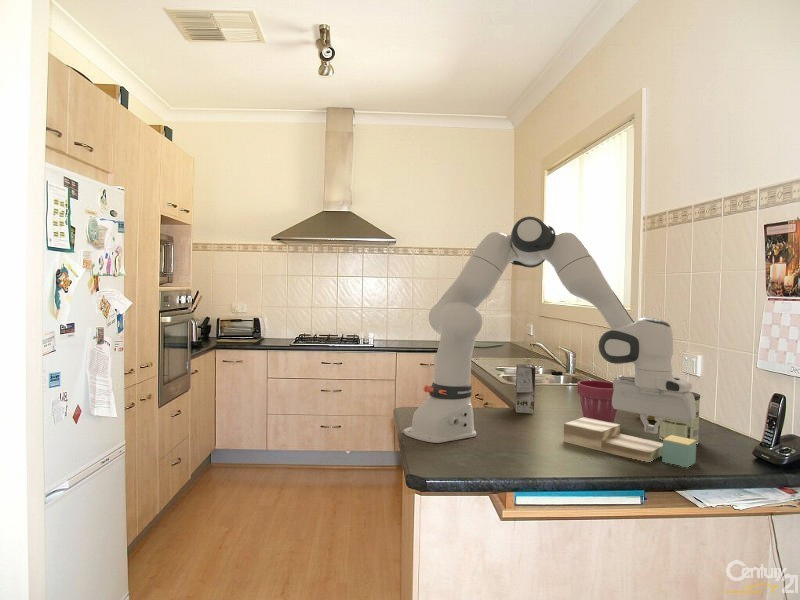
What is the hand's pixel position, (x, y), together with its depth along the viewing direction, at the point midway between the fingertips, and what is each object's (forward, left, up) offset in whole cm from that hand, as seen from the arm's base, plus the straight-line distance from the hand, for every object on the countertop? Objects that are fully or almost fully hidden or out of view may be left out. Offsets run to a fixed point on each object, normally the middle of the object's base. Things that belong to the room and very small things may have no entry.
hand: (651, 432), depth 136 cm
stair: (0, +10, -6) cm, 12 cm away
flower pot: (+43, +16, -7) cm, 46 cm away
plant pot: (+24, +25, -6) cm, 35 cm away
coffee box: (+19, +50, -7) cm, 54 cm away
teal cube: (0, -7, 0) cm, 7 cm away
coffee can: (+22, 0, -7) cm, 23 cm away
